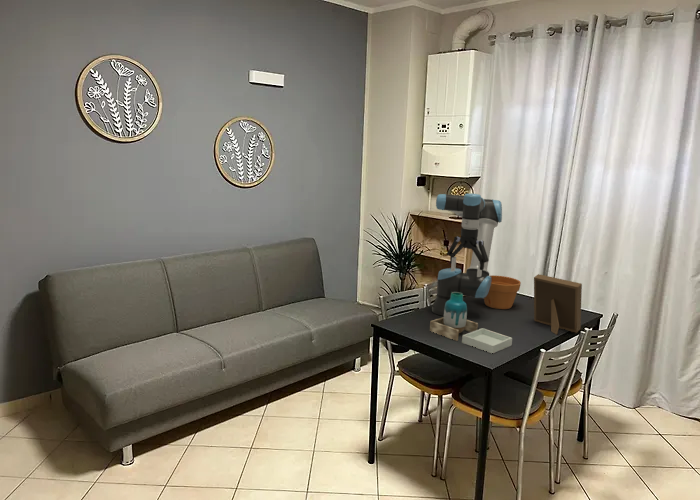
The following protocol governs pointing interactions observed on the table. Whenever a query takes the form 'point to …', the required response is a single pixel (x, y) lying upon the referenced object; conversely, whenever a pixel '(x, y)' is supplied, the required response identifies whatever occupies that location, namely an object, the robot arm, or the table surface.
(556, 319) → the photo frame
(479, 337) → the tray
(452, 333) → the wooden open crate
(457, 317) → the vase
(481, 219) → the robot arm
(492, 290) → the flower pot
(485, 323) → the table surface
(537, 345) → the table surface
